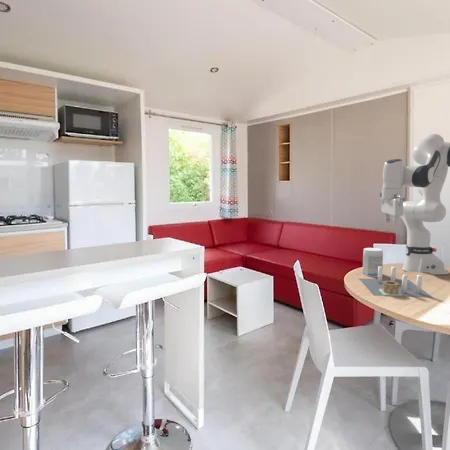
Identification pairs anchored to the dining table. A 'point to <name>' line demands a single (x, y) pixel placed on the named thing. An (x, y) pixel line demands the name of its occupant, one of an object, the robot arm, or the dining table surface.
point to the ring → (390, 287)
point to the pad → (390, 294)
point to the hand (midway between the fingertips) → (391, 223)
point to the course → (405, 285)
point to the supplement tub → (372, 261)
